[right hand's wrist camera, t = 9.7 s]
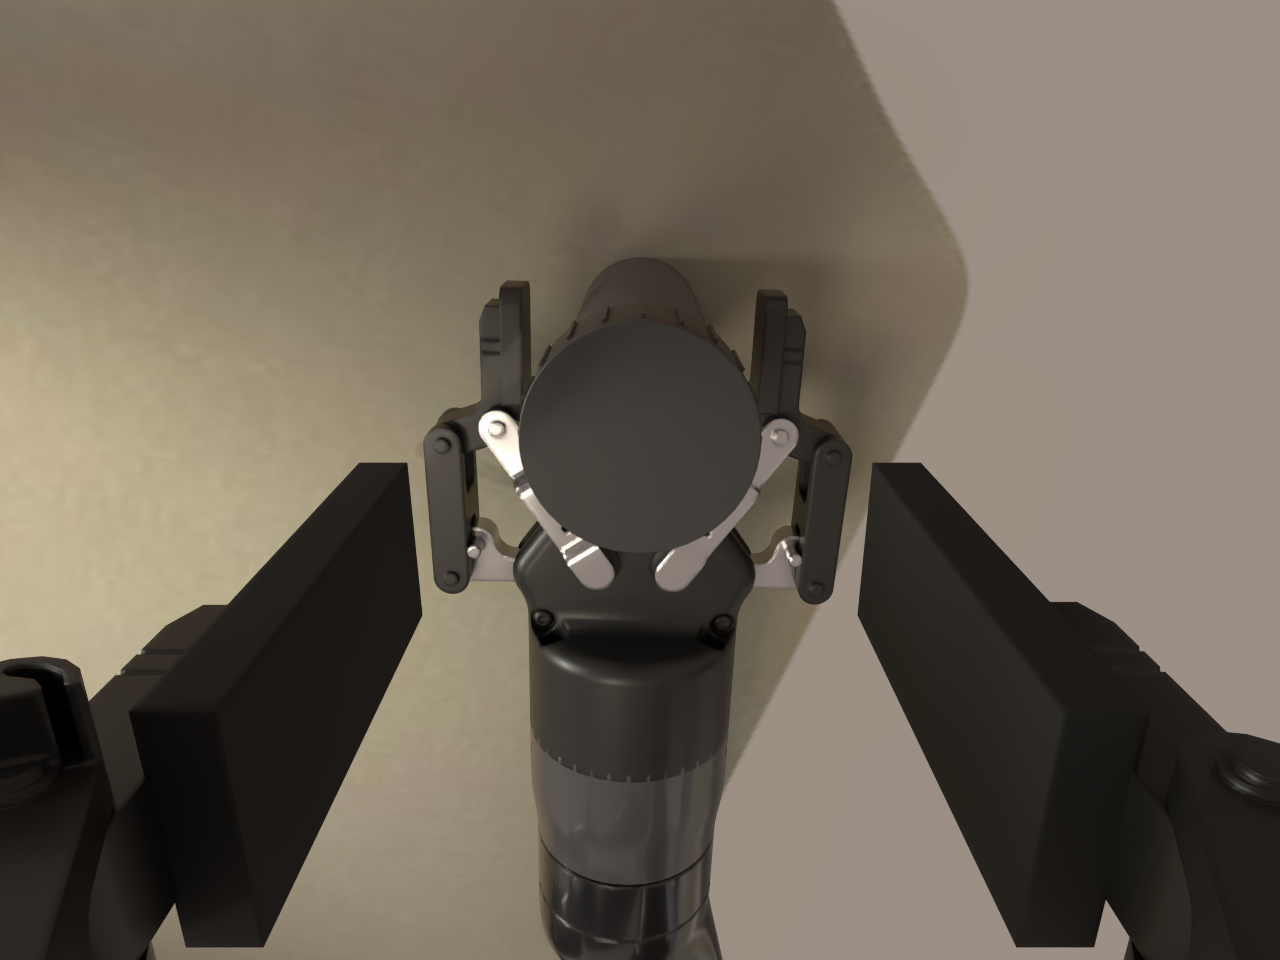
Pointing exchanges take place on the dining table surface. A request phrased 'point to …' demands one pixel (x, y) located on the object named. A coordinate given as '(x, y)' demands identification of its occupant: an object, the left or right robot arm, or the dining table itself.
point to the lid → (640, 429)
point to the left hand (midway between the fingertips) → (643, 288)
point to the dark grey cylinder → (640, 288)
